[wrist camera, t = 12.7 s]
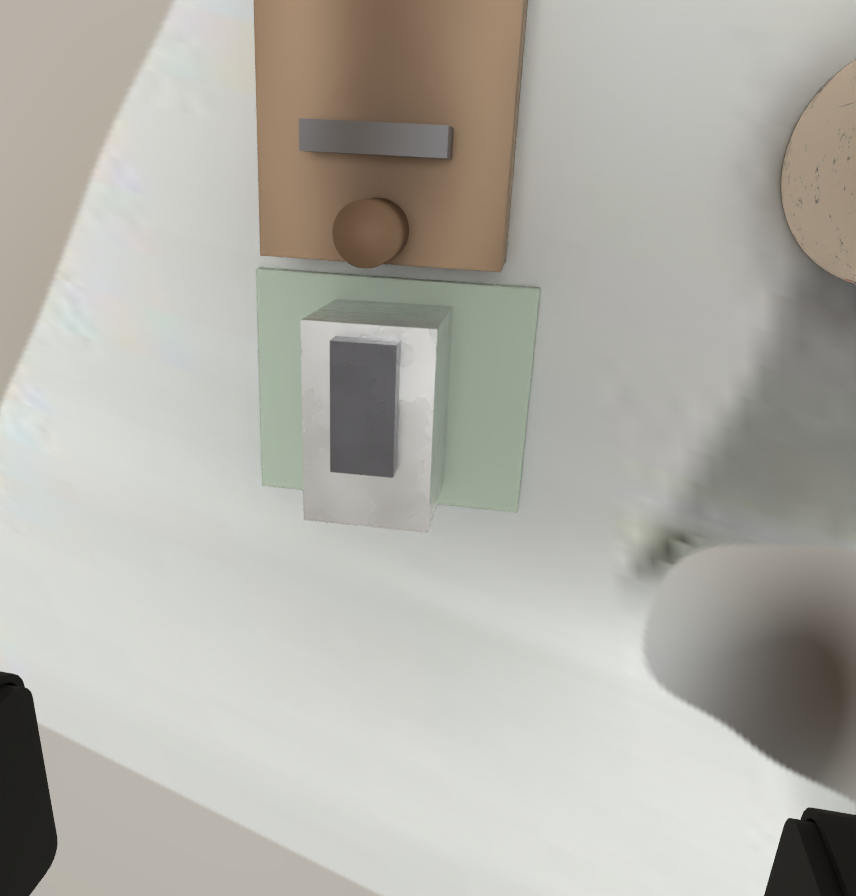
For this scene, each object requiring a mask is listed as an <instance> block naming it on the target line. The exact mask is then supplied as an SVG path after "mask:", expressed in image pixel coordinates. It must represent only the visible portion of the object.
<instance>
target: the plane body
mask: <svg viewBox="0 0 856 896" xmlns="http://www.w3.org/2000/svg"><path fill="white" fill-rule="evenodd" d="M527 3H528V0H254V31H255V69H256V107H257V145H258V183H259V220H260V255H261V256H276V257H290V258H305V259H319V260H334V261H346V262H348V263H349V264H351V265H353V266H356V267H359V268H373V267H376V266H379V265H381V264H391V265H406V266H420V267H435V268H449V269H464V270H478V271H493V272H501V270H502V268H503V266H504V263H505V261H506V252H507V240H508V228H509V216H510V204H511V193H512V181H513V169H514V157H515V145H516V133H517V122H518V110H519V98H520V86H521V74H522V63H523V51H524V39H525V27H526V15H527Z"/></svg>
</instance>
